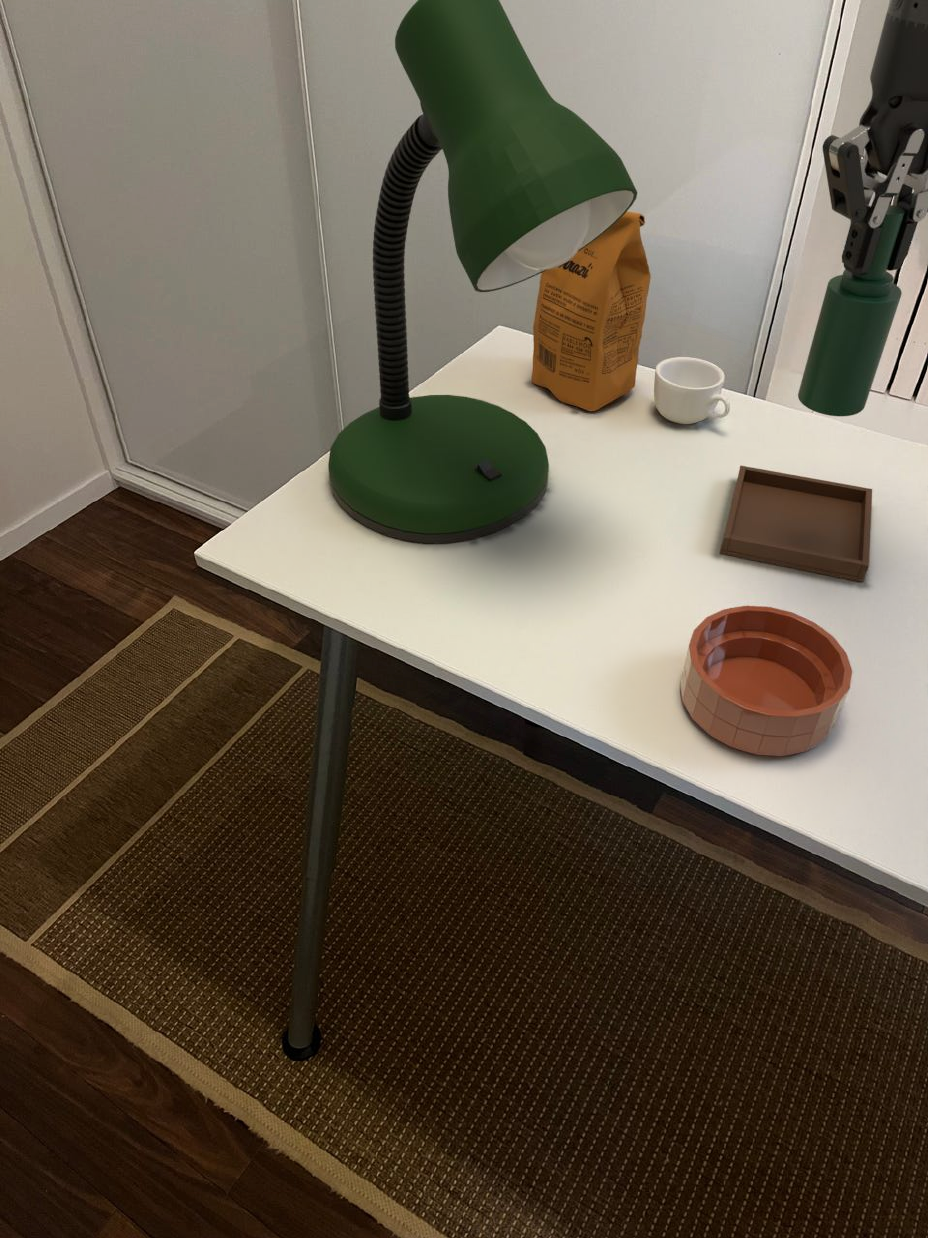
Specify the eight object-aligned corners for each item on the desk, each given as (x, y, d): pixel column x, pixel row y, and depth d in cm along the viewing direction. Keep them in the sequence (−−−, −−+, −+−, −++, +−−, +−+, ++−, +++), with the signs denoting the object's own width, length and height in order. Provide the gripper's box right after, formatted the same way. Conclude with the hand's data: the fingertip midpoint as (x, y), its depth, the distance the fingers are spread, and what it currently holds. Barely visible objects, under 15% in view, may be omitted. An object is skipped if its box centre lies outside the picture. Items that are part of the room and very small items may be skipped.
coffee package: (576, 356, 121) (592, 176, 106) (646, 394, 114) (673, 206, 99) (517, 379, 117) (525, 194, 102) (586, 420, 109) (605, 226, 94)
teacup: (635, 411, 111) (641, 369, 107) (679, 391, 114) (686, 350, 111) (701, 447, 105) (709, 404, 101) (744, 425, 108) (754, 382, 105)
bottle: (875, 398, 82) (938, 207, 71) (848, 423, 78) (911, 228, 68) (814, 377, 84) (866, 191, 73) (786, 402, 81) (837, 210, 70)
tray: (866, 505, 97) (872, 488, 95) (862, 582, 87) (869, 565, 86) (736, 481, 100) (740, 465, 99) (719, 553, 91) (723, 536, 89)
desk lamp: (648, 521, 95) (736, -12, 64) (478, 617, 84) (488, 31, 54) (452, 403, 112) (450, -60, 82) (291, 470, 101) (220, -34, 71)
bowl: (859, 695, 77) (877, 651, 73) (792, 786, 70) (809, 742, 67) (725, 629, 83) (736, 586, 79) (651, 708, 76) (660, 663, 72)
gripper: (899, 27, 58) (825, 301, 69) (1075, 13, 61) (976, 275, 73) (824, 5, 63) (767, 263, 74) (990, -7, 66) (911, 240, 78)
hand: (871, 268), depth 74 cm, fingers closed on bottle, 2 cm apart
